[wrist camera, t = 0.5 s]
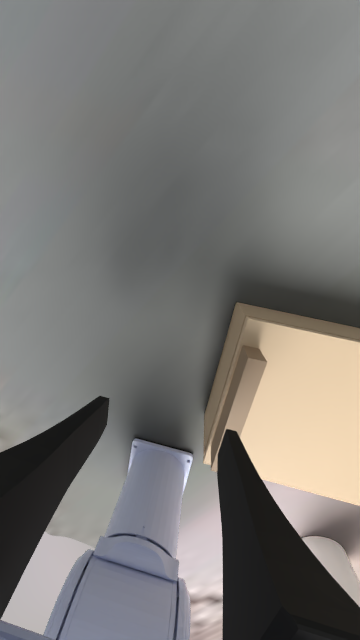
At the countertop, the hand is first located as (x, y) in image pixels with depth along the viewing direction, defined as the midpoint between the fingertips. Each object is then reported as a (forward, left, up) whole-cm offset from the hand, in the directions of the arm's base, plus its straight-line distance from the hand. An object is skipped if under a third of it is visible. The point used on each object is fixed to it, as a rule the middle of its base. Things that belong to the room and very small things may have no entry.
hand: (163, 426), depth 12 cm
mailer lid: (0, -12, -5) cm, 13 cm away
